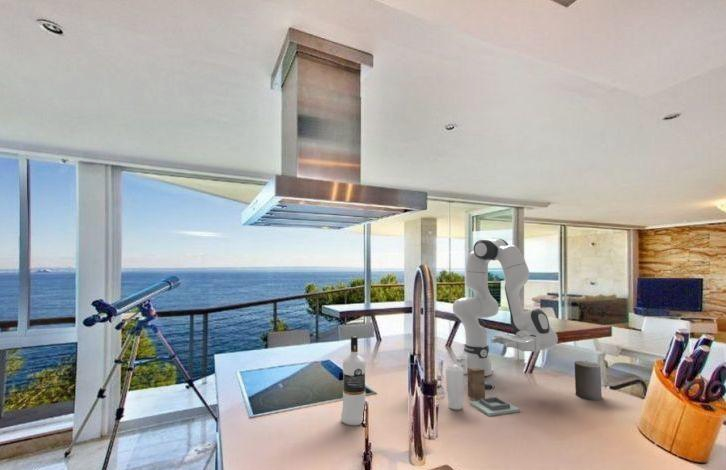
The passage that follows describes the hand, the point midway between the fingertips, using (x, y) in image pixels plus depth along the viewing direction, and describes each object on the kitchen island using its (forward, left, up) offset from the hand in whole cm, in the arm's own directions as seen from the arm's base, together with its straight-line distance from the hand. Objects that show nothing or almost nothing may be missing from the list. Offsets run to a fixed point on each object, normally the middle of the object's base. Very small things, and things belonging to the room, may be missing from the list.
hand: (498, 342), depth 160 cm
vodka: (+7, -68, -22) cm, 72 cm away
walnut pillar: (0, -12, -22) cm, 25 cm away
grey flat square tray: (+12, -12, -22) cm, 28 cm away
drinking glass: (+7, -27, -22) cm, 35 cm away
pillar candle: (+13, +35, -22) cm, 43 cm away
